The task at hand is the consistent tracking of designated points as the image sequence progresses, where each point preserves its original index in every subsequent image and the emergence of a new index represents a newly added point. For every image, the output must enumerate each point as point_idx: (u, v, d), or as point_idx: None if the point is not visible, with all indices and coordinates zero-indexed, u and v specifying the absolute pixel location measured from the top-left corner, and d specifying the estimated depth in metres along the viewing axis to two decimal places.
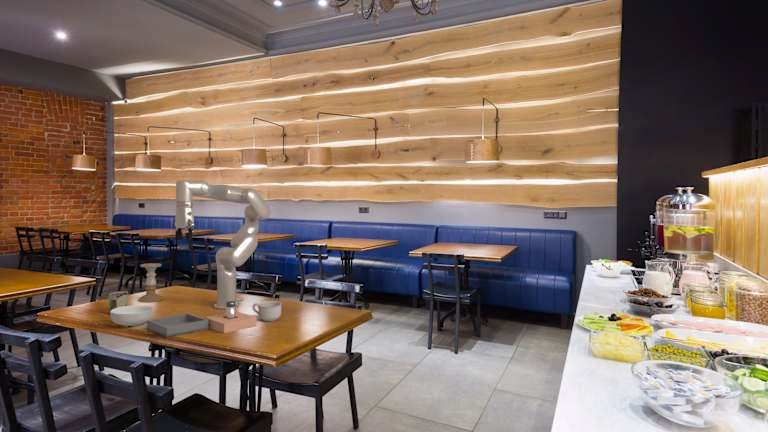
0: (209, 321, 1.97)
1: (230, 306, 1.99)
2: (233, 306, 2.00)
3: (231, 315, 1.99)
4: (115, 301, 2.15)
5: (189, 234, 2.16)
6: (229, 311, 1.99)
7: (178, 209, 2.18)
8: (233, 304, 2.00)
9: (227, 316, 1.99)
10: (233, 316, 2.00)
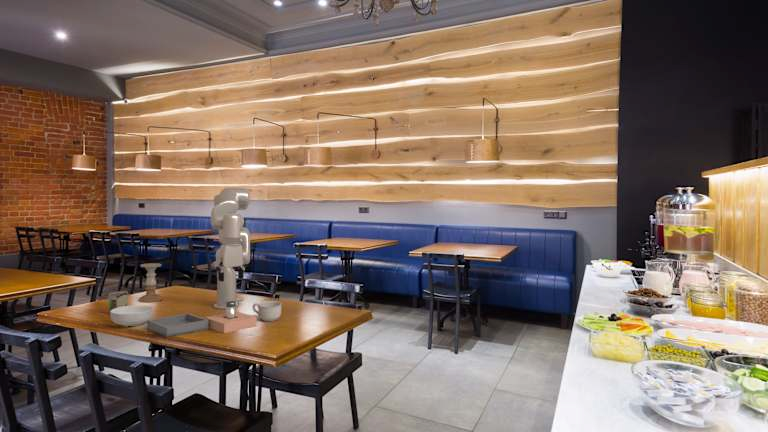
0: (209, 321, 1.97)
1: (230, 306, 1.99)
2: (233, 306, 2.00)
3: (231, 315, 1.99)
4: (115, 301, 2.15)
5: None
6: (229, 311, 1.99)
7: (233, 246, 1.98)
8: (233, 304, 2.00)
9: (227, 316, 1.99)
10: (233, 316, 2.00)
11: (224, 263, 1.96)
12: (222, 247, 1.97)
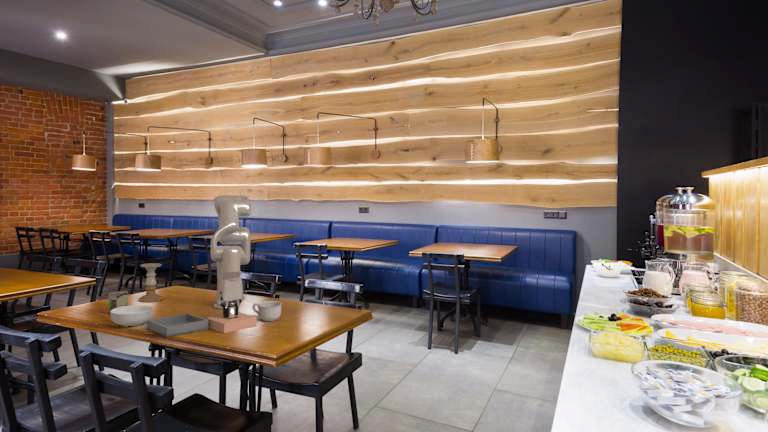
0: (209, 321, 1.97)
1: (230, 306, 1.99)
2: (233, 306, 2.00)
3: (231, 315, 1.99)
4: (115, 301, 2.15)
5: None
6: (229, 311, 1.99)
7: (233, 280, 1.99)
8: (233, 304, 2.00)
9: None
10: (233, 316, 2.00)
11: (224, 297, 1.96)
12: (222, 281, 1.97)
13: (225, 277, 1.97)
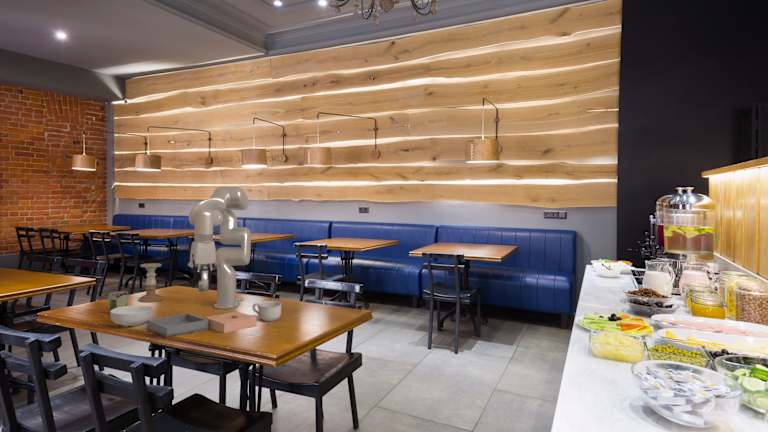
0: (209, 321, 1.97)
1: (203, 270, 1.95)
2: (206, 270, 1.96)
3: (204, 279, 1.95)
4: (115, 301, 2.15)
5: None
6: (202, 275, 1.95)
7: (205, 243, 1.95)
8: (206, 268, 1.96)
9: None
10: (206, 280, 1.96)
11: (196, 260, 1.92)
12: (194, 244, 1.93)
13: (197, 240, 1.93)
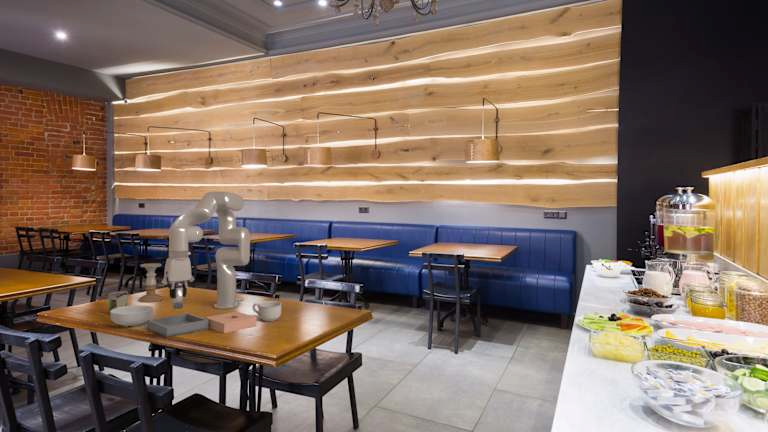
0: (209, 321, 1.97)
1: (177, 287, 1.92)
2: (180, 287, 1.93)
3: (178, 296, 1.92)
4: (115, 301, 2.15)
5: None
6: (176, 292, 1.92)
7: (179, 260, 1.92)
8: (180, 285, 1.93)
9: None
10: (180, 297, 1.93)
11: (169, 277, 1.89)
12: (168, 261, 1.90)
13: (171, 256, 1.90)
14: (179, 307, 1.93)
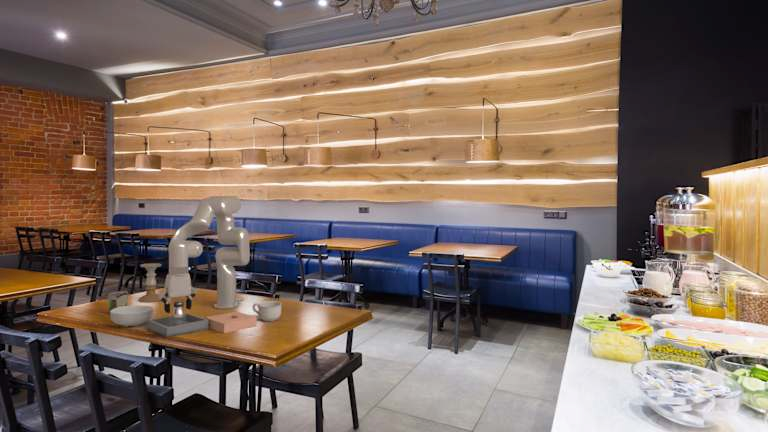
0: (209, 321, 1.97)
1: (177, 306, 1.93)
2: (180, 306, 1.93)
3: (178, 315, 1.93)
4: (115, 301, 2.15)
5: None
6: (176, 312, 1.93)
7: (179, 276, 1.92)
8: (180, 304, 1.93)
9: (174, 316, 1.93)
10: (180, 316, 1.94)
11: (169, 294, 1.90)
12: (168, 277, 1.91)
13: (171, 273, 1.91)
14: None
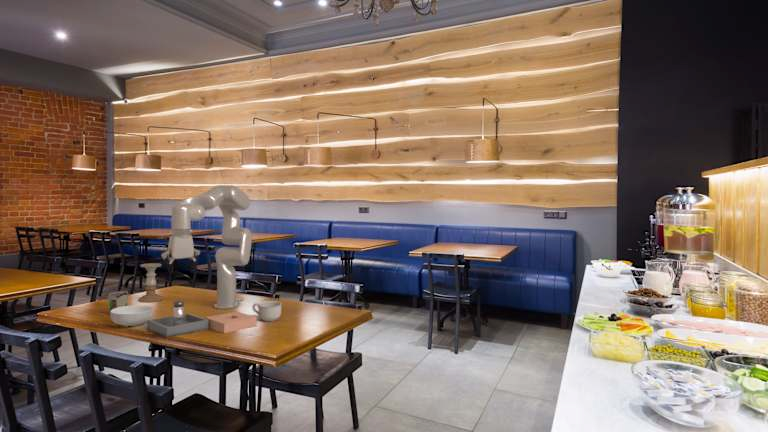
0: (209, 321, 1.97)
1: (177, 306, 1.93)
2: (180, 306, 1.93)
3: (178, 315, 1.93)
4: (115, 301, 2.15)
5: None
6: (176, 312, 1.93)
7: (182, 237, 1.97)
8: (180, 304, 1.93)
9: (174, 316, 1.93)
10: (181, 316, 1.94)
11: (173, 254, 1.95)
12: (171, 238, 1.95)
13: (174, 234, 1.95)
14: None
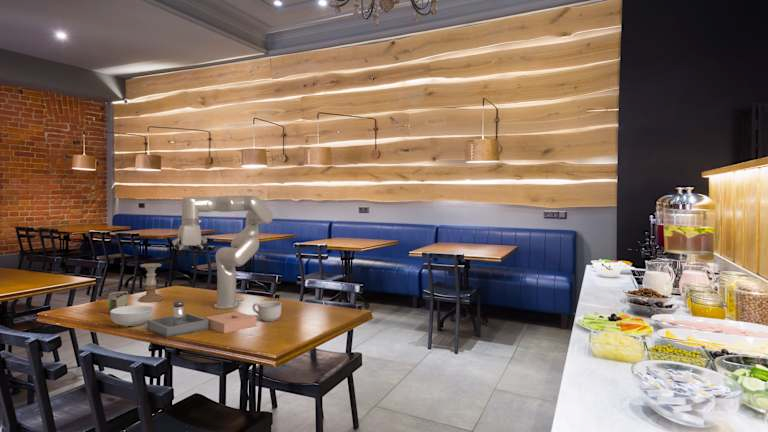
0: (209, 321, 1.97)
1: (177, 306, 1.93)
2: (180, 306, 1.93)
3: (178, 315, 1.93)
4: (115, 301, 2.15)
5: None
6: (176, 312, 1.93)
7: (191, 226, 2.17)
8: (180, 304, 1.93)
9: (174, 316, 1.93)
10: (180, 316, 1.94)
11: (182, 241, 2.15)
12: (181, 227, 2.16)
13: (184, 223, 2.16)
14: None
